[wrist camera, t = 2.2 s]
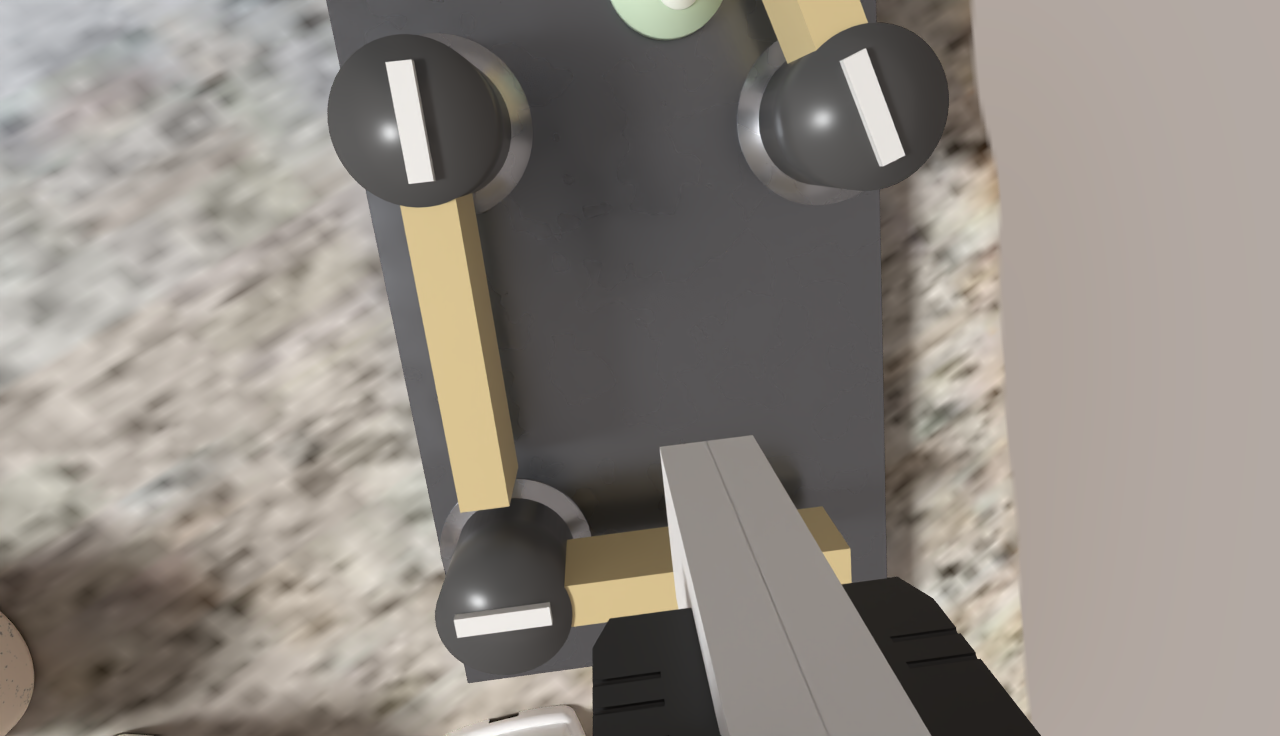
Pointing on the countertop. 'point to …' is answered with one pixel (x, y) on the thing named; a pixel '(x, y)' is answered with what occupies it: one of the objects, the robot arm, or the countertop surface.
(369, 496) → the countertop surface
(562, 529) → the knob
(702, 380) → the dark grey knob panel
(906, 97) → the knob
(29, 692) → the teacup with lid
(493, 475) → the knob
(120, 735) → the white cup
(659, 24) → the green domed button
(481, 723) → the soap
